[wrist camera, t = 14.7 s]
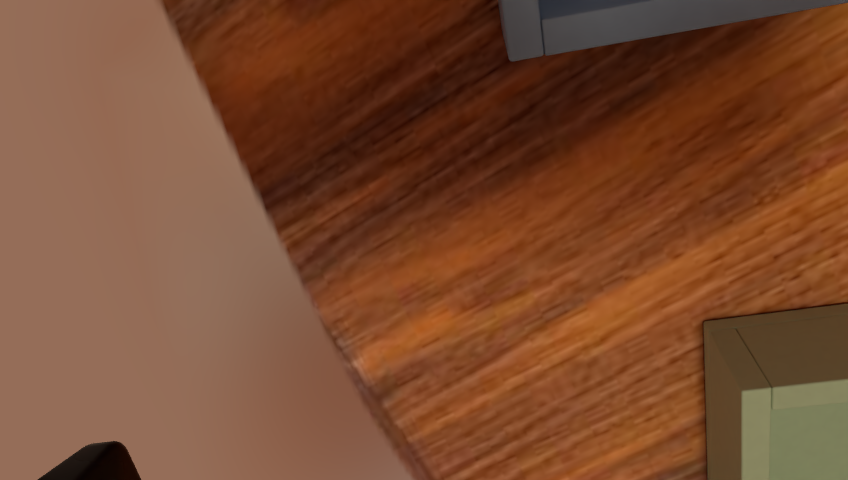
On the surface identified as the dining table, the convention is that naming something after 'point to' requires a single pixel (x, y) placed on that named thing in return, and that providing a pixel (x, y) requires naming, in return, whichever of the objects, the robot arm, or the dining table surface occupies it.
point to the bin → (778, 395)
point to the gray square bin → (622, 20)
